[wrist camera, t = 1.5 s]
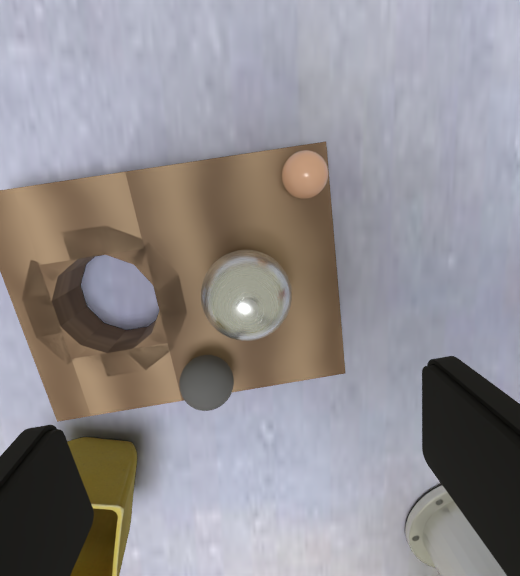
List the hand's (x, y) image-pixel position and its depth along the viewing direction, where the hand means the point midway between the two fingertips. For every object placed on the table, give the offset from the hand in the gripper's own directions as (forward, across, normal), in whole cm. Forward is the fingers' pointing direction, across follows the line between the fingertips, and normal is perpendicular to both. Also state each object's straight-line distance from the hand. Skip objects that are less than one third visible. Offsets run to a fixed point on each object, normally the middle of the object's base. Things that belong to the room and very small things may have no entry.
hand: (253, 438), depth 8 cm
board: (+21, +5, 0) cm, 22 cm away
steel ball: (+14, 0, 0) cm, 14 cm away
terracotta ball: (+15, -5, -7) cm, 17 cm away
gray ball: (+14, +4, +7) cm, 17 cm away
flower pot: (+21, +17, +17) cm, 32 cm away
